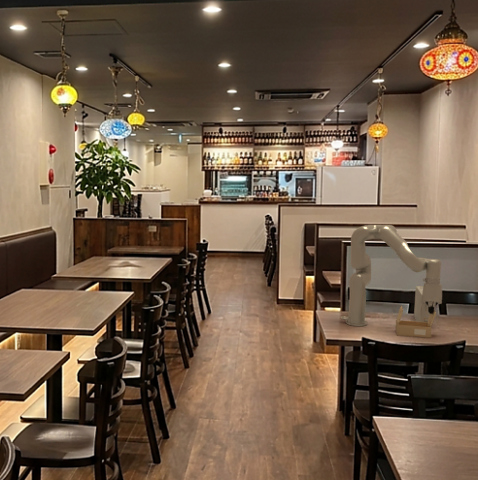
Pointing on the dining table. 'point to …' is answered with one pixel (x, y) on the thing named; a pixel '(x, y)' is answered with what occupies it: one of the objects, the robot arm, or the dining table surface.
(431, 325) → the flap
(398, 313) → the flap
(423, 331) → the carton
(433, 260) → the robot arm
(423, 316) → the packaging
